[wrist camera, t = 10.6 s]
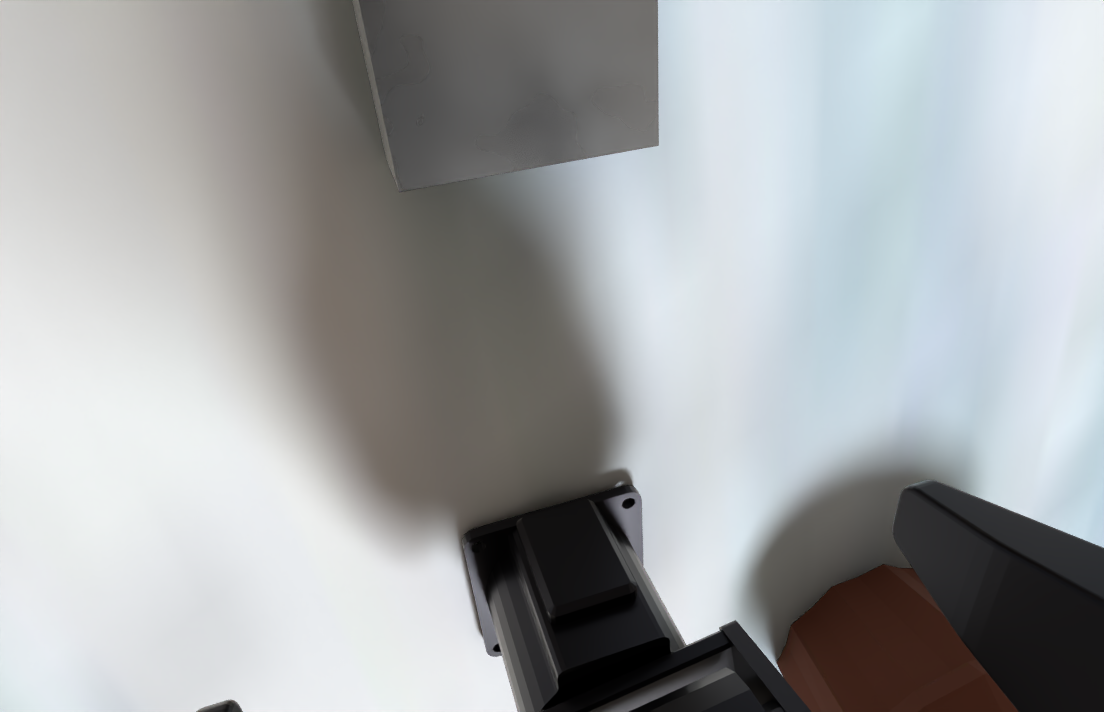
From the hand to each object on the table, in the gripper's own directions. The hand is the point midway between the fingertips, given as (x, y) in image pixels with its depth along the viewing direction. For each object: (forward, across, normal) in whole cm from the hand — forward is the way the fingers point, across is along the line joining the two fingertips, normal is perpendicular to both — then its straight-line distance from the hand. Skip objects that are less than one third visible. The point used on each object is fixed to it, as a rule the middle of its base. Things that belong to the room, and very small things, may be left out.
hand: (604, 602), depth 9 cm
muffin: (+12, -17, +24) cm, 32 cm away
